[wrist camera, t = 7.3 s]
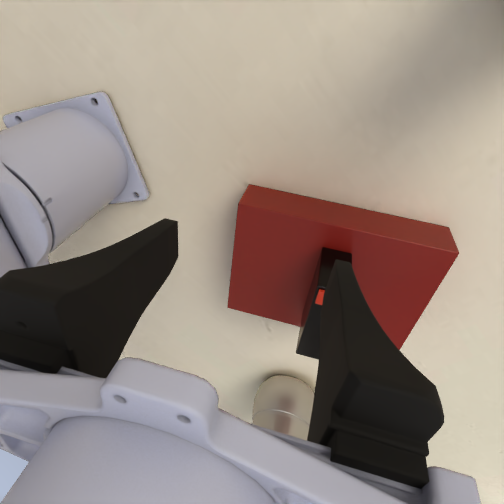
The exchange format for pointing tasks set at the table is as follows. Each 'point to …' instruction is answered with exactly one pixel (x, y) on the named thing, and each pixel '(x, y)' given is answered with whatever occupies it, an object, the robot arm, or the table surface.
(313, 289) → the block
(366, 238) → the red rectangular block
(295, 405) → the metal water bottle
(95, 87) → the table surface
